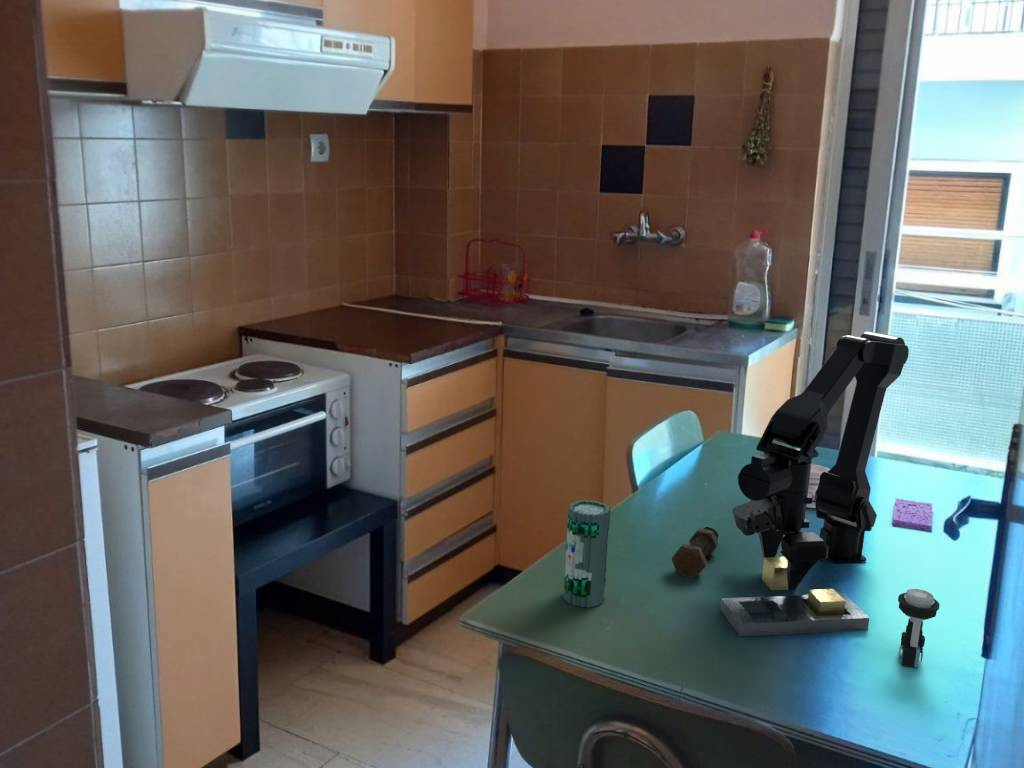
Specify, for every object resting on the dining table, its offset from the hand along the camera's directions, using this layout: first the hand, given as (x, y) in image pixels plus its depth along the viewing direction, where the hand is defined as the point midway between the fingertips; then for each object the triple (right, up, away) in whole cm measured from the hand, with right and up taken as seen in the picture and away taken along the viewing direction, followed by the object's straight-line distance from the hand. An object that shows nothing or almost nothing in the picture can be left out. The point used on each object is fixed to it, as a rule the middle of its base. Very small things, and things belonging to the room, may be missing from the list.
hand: (779, 577), depth 161 cm
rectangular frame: (-1, -4, -12) cm, 12 cm away
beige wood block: (0, -1, 0) cm, 1 cm away
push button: (+13, -7, -21) cm, 26 cm away
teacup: (+17, +8, +40) cm, 44 cm away
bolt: (-11, +1, +9) cm, 14 cm away
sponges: (+34, +5, +32) cm, 47 cm away
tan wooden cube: (+4, -4, -11) cm, 12 cm away
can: (-32, -2, -7) cm, 33 cm away
